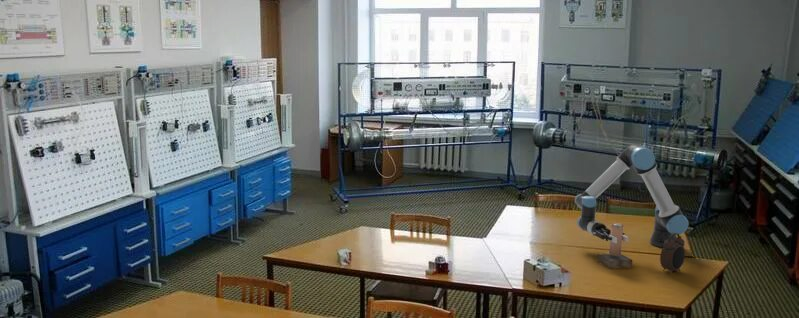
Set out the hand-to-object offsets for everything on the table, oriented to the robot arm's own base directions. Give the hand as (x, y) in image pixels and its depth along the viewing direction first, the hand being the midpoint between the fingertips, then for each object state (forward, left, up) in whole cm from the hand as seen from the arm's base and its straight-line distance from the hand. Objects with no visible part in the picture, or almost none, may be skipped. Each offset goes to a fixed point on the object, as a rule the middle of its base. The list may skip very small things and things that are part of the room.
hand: (622, 240), depth 368 cm
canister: (0, -5, -9) cm, 10 cm away
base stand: (0, -5, -14) cm, 15 cm away
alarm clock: (-22, +13, -15) cm, 29 cm away
